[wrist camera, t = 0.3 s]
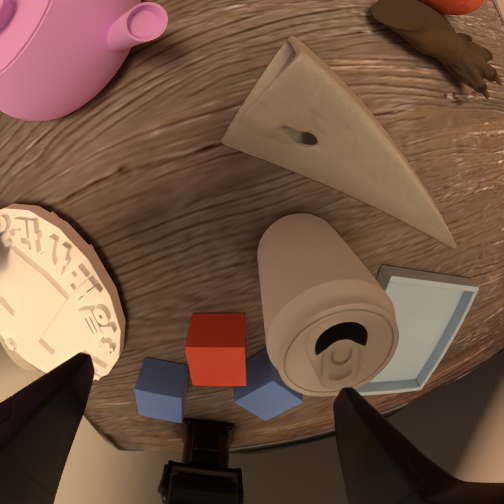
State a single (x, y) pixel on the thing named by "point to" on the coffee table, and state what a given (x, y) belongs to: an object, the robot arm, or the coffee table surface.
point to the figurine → (438, 41)
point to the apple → (453, 6)
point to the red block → (217, 349)
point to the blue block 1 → (162, 390)
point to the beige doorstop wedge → (330, 138)
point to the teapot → (67, 51)
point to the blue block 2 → (265, 389)
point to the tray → (420, 325)
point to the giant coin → (55, 293)
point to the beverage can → (322, 308)
